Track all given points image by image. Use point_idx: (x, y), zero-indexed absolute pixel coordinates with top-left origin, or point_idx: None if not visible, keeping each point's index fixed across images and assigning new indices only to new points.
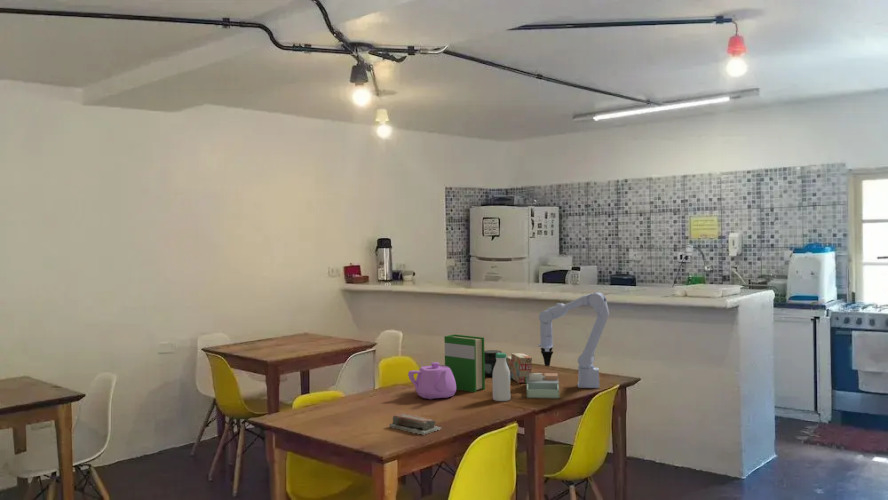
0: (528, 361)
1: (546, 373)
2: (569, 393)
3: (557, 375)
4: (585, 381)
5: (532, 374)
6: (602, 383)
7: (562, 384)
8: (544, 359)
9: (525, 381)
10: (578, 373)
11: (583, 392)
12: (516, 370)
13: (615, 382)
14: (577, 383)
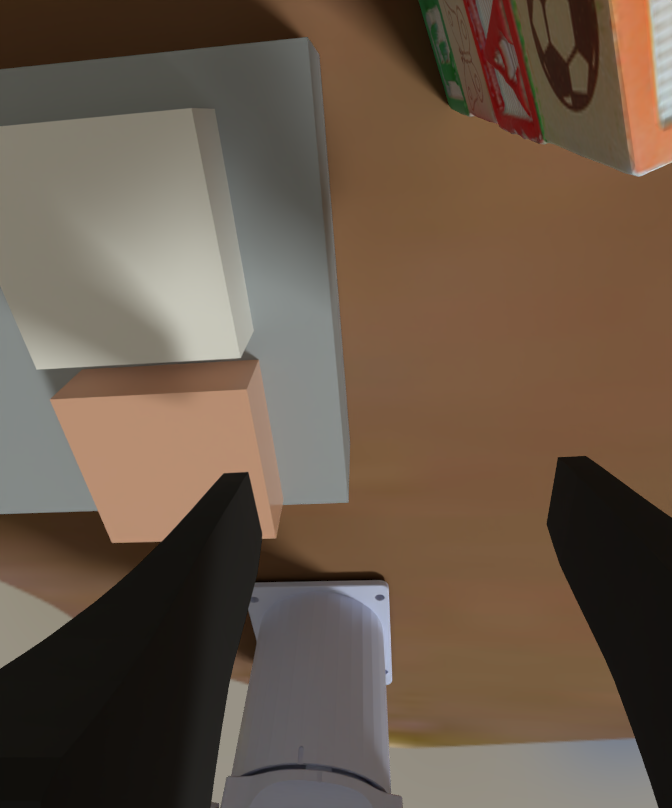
0: (545, 23)
1: (226, 417)
2: (31, 525)
3: (135, 539)
4: (252, 666)
5: (69, 192)
6: (436, 696)
7: (379, 477)
8: (142, 574)
9: (424, 9)
10: (303, 692)
11: None
12: None
13: (469, 744)
14: (376, 586)
